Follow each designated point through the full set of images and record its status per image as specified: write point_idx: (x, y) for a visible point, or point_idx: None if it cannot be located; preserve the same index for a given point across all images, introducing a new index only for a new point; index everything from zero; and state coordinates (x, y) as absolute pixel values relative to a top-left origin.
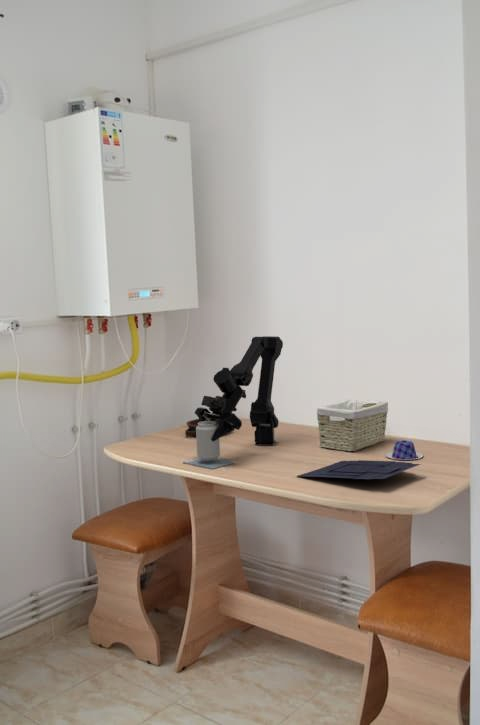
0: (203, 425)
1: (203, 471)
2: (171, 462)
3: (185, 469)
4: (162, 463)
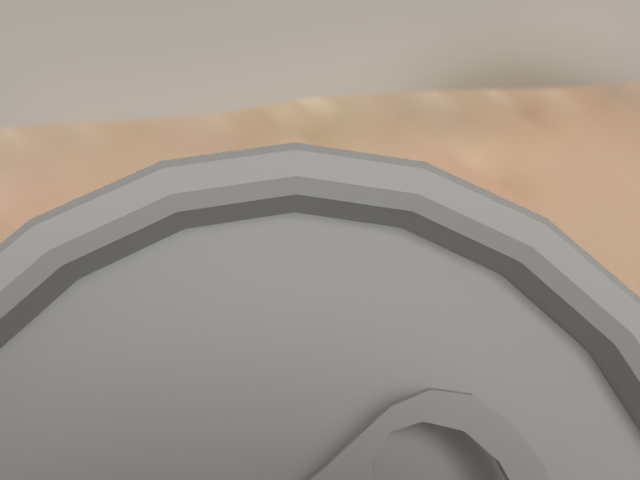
0: (109, 200)
1: (45, 187)
2: (603, 206)
3: (260, 124)
4: (625, 126)
